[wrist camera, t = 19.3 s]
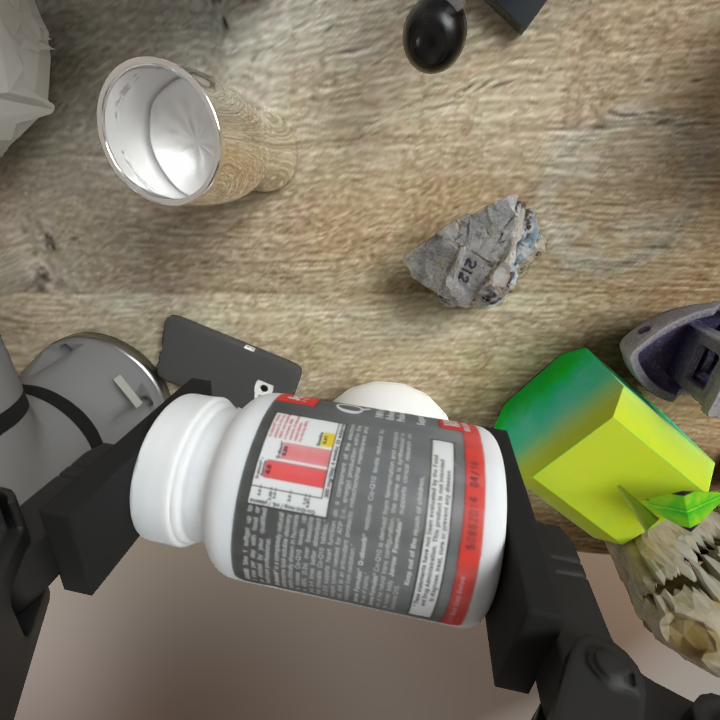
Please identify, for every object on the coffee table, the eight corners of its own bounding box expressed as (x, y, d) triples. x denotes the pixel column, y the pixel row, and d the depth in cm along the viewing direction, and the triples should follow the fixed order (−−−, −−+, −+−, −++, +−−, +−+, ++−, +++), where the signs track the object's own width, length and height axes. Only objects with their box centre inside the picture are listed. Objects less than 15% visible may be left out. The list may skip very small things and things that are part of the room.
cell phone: (154, 377, 43) (159, 373, 44) (281, 428, 44) (284, 423, 45) (164, 314, 40) (170, 311, 41) (302, 370, 40) (304, 366, 41)
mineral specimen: (482, 269, 40) (463, 166, 34) (565, 279, 34) (560, 159, 28) (422, 327, 36) (389, 224, 30) (504, 350, 30) (484, 229, 24)
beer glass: (285, 89, 31) (183, 22, 18) (316, 181, 34) (248, 185, 20) (209, 122, 33) (64, 85, 20) (244, 208, 36) (137, 227, 22)
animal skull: (682, 403, 32) (874, 617, 20) (788, 529, 44) (943, 704, 33) (504, 494, 39) (569, 687, 28) (638, 579, 52) (721, 736, 40)
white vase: (429, 484, 45) (433, 602, 33) (315, 452, 46) (276, 557, 33) (470, 383, 40) (494, 480, 27) (339, 348, 40) (302, 428, 27)
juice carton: (560, 468, 42) (627, 606, 29) (491, 415, 41) (527, 534, 27) (651, 401, 38) (781, 527, 24) (578, 339, 36) (672, 436, 23)
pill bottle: (508, 392, 12) (186, 340, 13) (522, 620, 8) (73, 525, 9) (462, 471, 16) (227, 428, 17) (458, 640, 13) (163, 576, 14)
